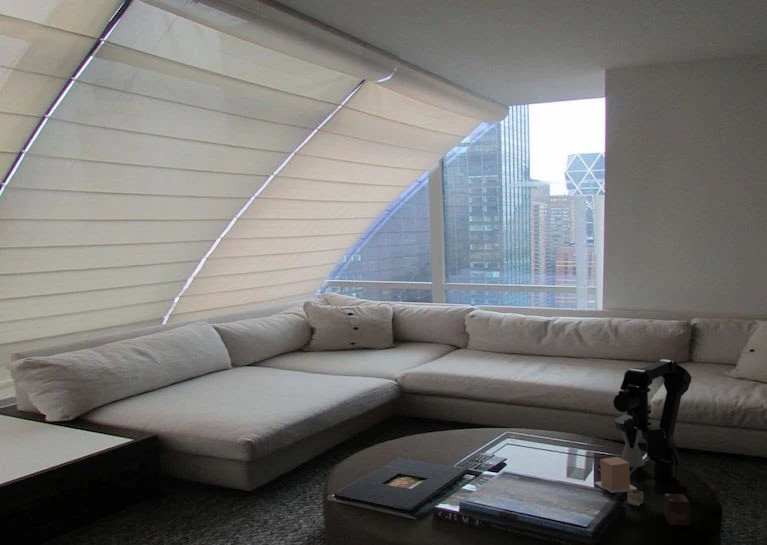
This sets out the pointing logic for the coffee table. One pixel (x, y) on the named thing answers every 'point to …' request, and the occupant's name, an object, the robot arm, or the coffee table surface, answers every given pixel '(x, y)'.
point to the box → (676, 509)
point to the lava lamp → (632, 450)
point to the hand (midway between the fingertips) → (640, 452)
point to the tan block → (615, 473)
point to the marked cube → (635, 497)
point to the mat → (617, 489)
